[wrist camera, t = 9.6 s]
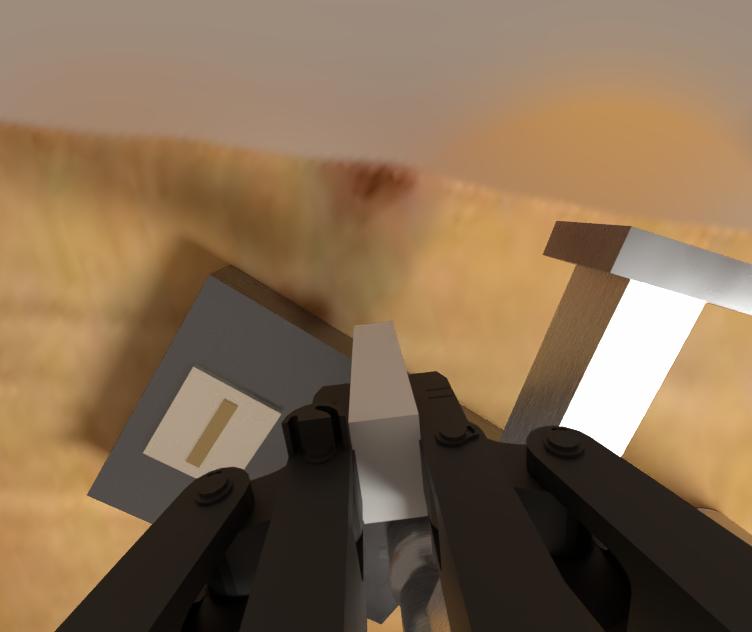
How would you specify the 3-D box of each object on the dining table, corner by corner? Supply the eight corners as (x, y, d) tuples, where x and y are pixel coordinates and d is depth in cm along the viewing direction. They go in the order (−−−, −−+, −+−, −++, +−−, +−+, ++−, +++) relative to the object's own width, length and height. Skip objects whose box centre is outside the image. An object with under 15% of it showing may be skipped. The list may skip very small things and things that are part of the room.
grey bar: (462, 625, 20) (504, 799, 14) (383, 613, 19) (393, 787, 13) (643, 251, 14) (837, 282, 8) (540, 219, 14) (671, 229, 8)
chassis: (381, 581, 27) (386, 681, 21) (120, 459, 23) (41, 542, 18) (509, 434, 24) (556, 506, 18) (231, 264, 20) (179, 288, 14)
